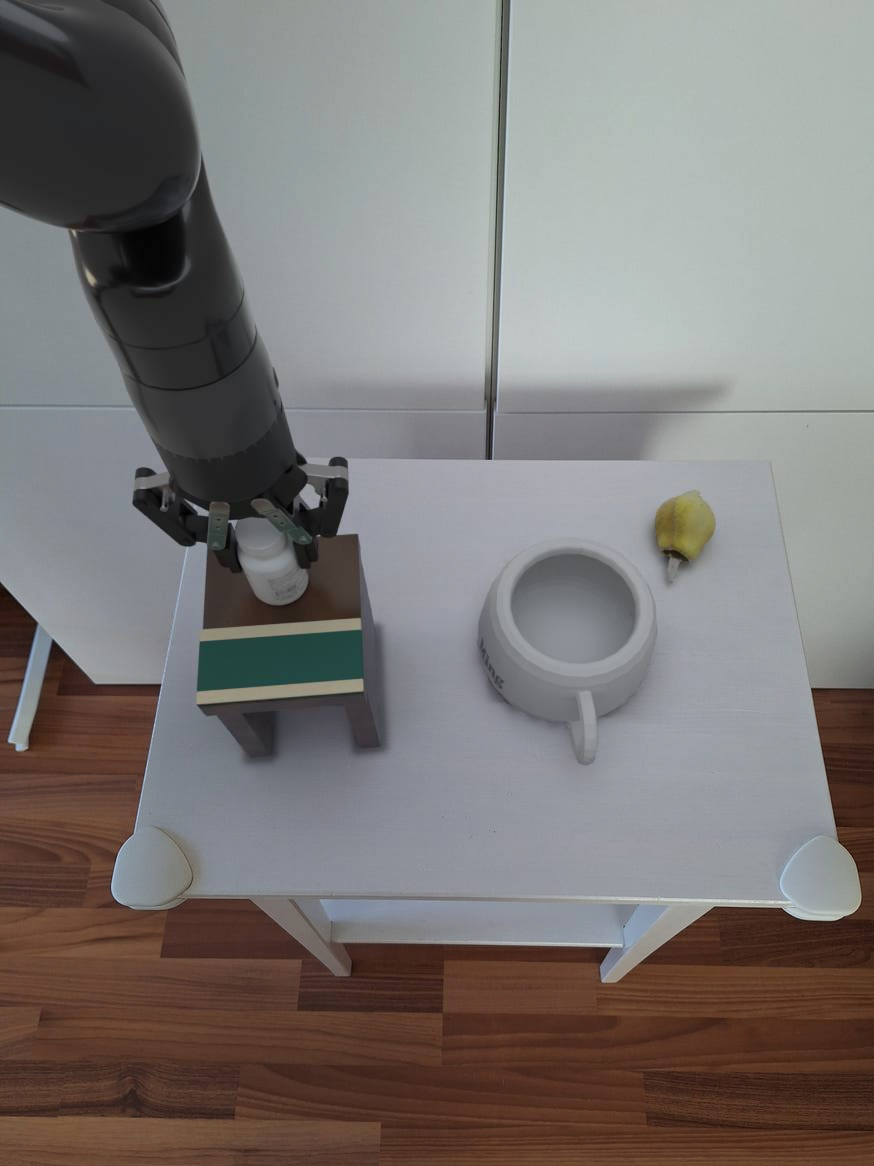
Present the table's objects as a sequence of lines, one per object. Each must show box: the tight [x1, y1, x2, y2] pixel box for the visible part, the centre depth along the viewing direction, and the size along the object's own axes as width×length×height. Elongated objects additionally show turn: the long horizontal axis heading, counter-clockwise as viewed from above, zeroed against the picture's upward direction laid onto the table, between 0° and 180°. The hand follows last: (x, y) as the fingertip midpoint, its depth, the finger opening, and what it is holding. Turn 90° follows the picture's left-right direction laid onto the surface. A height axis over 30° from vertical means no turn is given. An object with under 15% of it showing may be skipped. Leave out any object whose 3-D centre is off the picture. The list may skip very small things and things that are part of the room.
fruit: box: [654, 489, 717, 584], centre depth 81 cm, size 6×6×10 cm
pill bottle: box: [234, 517, 308, 605], centre depth 59 cm, size 4×4×8 cm
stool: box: [198, 533, 382, 758], centre depth 68 cm, size 12×14×16 cm
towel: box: [195, 618, 364, 708], centre depth 59 cm, size 12×6×1 cm, turn 96°
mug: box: [476, 536, 658, 767], centre depth 72 cm, size 21×17×10 cm
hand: (272, 560), depth 59 cm, fingers closed on pill bottle, 4 cm apart
